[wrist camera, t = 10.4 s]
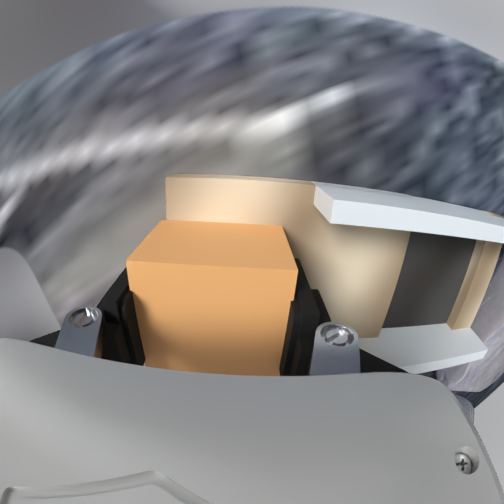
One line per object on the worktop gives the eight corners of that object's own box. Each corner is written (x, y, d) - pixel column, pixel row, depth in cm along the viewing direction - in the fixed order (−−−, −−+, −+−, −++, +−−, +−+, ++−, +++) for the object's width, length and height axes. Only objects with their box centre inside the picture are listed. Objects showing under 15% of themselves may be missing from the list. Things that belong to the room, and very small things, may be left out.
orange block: (282, 225, 12) (297, 270, 8) (270, 324, 14) (277, 386, 10) (161, 220, 11) (125, 260, 8) (169, 318, 13) (148, 376, 10)
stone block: (530, 262, 16) (507, 231, 13) (562, 289, 12) (555, 268, 9) (466, 359, 21) (419, 364, 18) (489, 390, 17) (449, 410, 13)
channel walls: (498, 214, 12) (535, 234, 9) (458, 328, 16) (482, 358, 13) (310, 181, 12) (333, 199, 9) (287, 338, 15) (295, 385, 12)
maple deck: (498, 214, 12) (508, 219, 11) (458, 328, 16) (465, 336, 15) (171, 173, 12) (165, 177, 11) (179, 333, 15) (176, 344, 14)
